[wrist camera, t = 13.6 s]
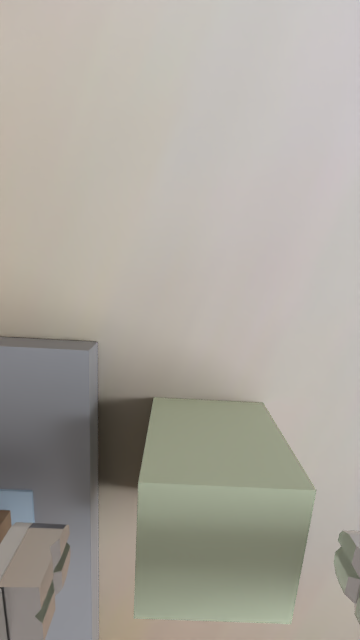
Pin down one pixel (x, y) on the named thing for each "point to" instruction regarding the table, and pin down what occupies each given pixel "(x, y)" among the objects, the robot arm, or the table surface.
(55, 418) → the board
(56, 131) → the table surface
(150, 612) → the green cube
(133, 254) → the table surface
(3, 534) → the walnut cube
